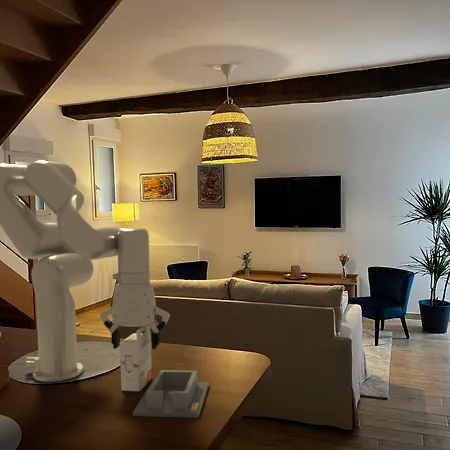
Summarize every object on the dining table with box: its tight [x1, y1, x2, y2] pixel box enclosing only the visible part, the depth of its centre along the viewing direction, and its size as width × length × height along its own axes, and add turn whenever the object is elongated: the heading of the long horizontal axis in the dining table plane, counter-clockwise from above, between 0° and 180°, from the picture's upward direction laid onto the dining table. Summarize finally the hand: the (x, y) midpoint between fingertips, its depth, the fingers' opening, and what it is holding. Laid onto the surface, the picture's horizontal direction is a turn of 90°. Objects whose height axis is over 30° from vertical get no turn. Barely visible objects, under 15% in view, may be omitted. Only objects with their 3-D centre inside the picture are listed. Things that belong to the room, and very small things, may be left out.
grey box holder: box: [132, 369, 210, 419], centre depth 103 cm, size 14×17×4 cm
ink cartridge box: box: [119, 326, 153, 392], centre depth 112 cm, size 9×5×15 cm, turn 168°
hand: (135, 347), depth 112 cm, fingers open, 9 cm apart
